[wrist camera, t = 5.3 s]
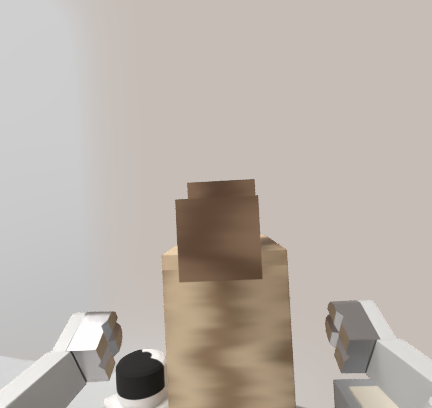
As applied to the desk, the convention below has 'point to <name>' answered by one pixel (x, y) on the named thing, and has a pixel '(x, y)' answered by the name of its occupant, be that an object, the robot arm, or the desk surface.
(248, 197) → the brown wooden bar
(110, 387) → the desk surface
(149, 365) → the medicine bottle
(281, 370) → the tall wooden pillar
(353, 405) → the plinth
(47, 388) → the robot arm
